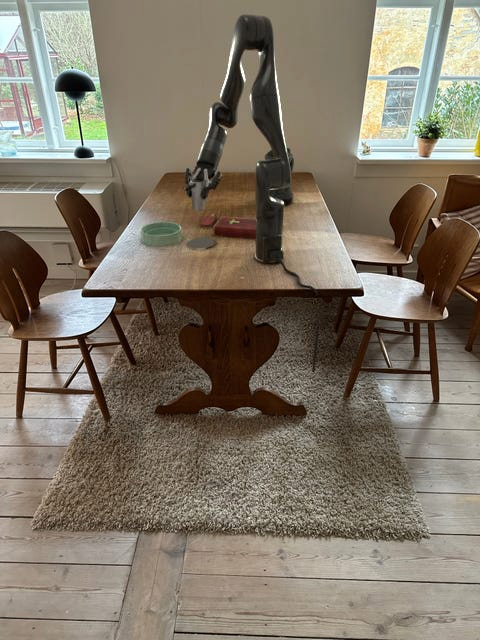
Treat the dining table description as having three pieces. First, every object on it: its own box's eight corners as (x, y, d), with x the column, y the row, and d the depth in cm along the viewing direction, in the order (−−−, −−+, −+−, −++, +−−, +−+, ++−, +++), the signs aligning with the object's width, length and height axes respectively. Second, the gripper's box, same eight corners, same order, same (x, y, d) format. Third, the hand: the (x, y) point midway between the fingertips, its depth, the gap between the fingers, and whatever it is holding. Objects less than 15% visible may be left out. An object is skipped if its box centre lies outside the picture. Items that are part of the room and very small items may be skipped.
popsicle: (218, 212, 196) (210, 224, 184) (218, 216, 197) (210, 228, 185) (208, 211, 197) (199, 223, 185) (208, 215, 198) (199, 228, 185)
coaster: (216, 248, 167) (216, 246, 167) (189, 250, 165) (189, 249, 165) (212, 238, 175) (212, 236, 175) (186, 240, 173) (186, 239, 173)
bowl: (184, 245, 169) (183, 234, 167) (142, 249, 166) (141, 237, 164) (180, 231, 182) (179, 220, 180) (141, 234, 179) (139, 223, 177)
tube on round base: (196, 205, 166) (194, 177, 161) (208, 207, 164) (207, 179, 159) (181, 214, 157) (179, 185, 152) (193, 216, 156) (192, 187, 150)
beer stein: (256, 205, 209) (256, 149, 196) (261, 193, 226) (262, 140, 213) (291, 207, 207) (295, 150, 194) (295, 195, 223) (298, 141, 210)
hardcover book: (266, 240, 173) (266, 230, 171) (213, 235, 177) (213, 225, 175) (272, 229, 183) (272, 219, 181) (222, 225, 187) (221, 215, 185)
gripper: (188, 146, 161) (173, 189, 158) (225, 150, 156) (210, 194, 153) (196, 159, 168) (182, 200, 165) (231, 162, 163) (217, 205, 160)
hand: (196, 197), depth 159 cm, fingers closed on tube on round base, 5 cm apart
